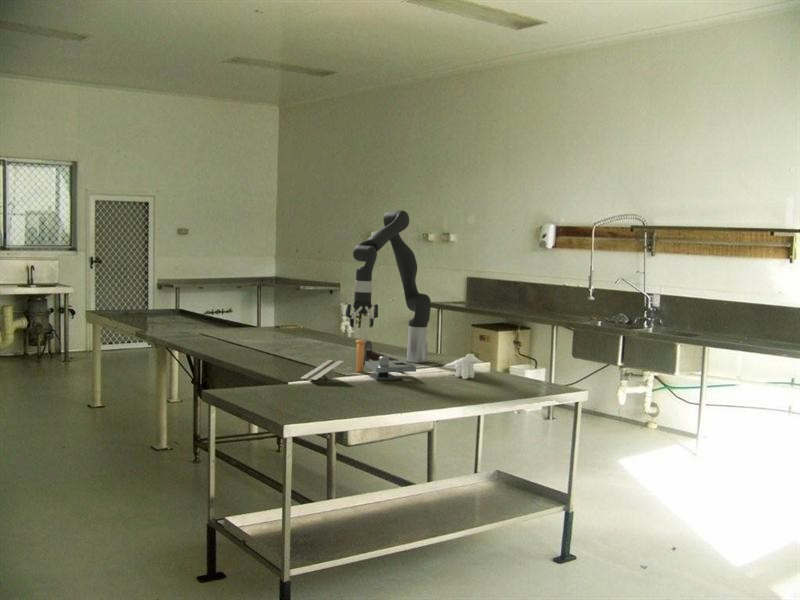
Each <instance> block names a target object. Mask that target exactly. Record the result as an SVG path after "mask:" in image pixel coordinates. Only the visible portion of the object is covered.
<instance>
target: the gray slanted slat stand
mask: <svg viewBox="0 0 800 600" xmlns="http://www.w3.org/2000/svg"><path fill="white" fill-rule="evenodd" d="M342 363H344V360H337V361H334V359H328V360H326V361H325V362H323V363H322V364H320V365H318V366H317V367H315V368H314V369H312V370H310V371H309V372H307V373H306V374H304V375H303V376H301V377H300V378H301V380H306V381H308V382H311V381H313V380H315V381H316V380H318V379H320V378H323V379H324V380H326V381H331V380H332V379H333V378H335V377H336V376H337V375H336V373H335V371H334V369H335V368H336V367H337V366H339V365H341V364H342Z"/></svg>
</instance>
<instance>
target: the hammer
mask: <svg viewBox="0 0 800 600" xmlns="http://www.w3.org/2000/svg"><path fill="white" fill-rule="evenodd" d="M362 340H366V343H365V346H364V364H365V361H379V357H380V356H386V357H389V361H400V360H399V359H396V358H394V357H393V356H392V357H391V356H388V355H385V354H383V353H380V352H376V351H374V350H373V345H372V342H371V341H370V340H369V339H365V338H364V339H362ZM355 350H356V351H355V354H356V353H357V348H356V349H355ZM397 373H400V372H397Z"/></svg>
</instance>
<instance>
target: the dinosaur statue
mask: <svg viewBox="0 0 800 600" xmlns="http://www.w3.org/2000/svg"><path fill="white" fill-rule="evenodd" d="M483 362H484V361H483V360H481V359H479V358H478V357H476V356H475V354H474V353H467V354H466V356H463V357H461V358H459V359H458V358H455V359H454V360H453V361H451V362H449V363H448V362H447V363H446V364H445V365H442V368H447V369H451V370H452V369H453V370H455V377H456V378H460V377H461V379H463V380H467V379H474V376H475V367H474V364H475V363H476V364H477V363H478V364H483Z"/></svg>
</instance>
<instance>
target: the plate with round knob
mask: <svg viewBox="0 0 800 600" xmlns="http://www.w3.org/2000/svg"><path fill="white" fill-rule="evenodd" d="M386 356H387V355H386ZM386 356H380V357H379V361H373V360H369V361H365V363H364V367H366V368H368V369H370V370H372V371H373V372H375V373H369V376H370V378H373V379H374V380H375V381H386V380H387V381H390V380H393V381H394V380H397V377H396V376H395V375H393V374H391V373H398V372H399V373H407V372H408V373H411V372H413V373H414V372H417V366H416V365H413V364H411V363H410V362H408V361H406V360H399V361H389V357H390V356H389V357H386Z"/></svg>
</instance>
